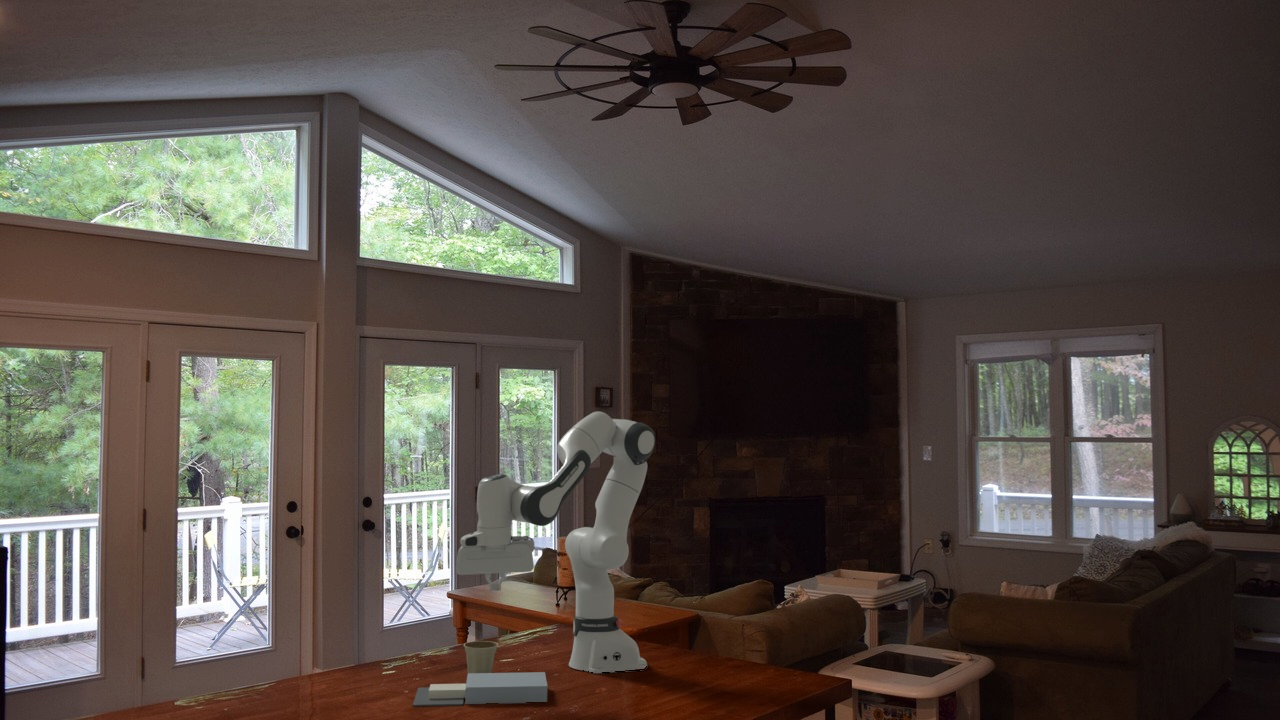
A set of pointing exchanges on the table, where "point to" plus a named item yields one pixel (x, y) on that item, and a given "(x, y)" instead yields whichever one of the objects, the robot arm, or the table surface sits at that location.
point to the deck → (506, 688)
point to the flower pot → (480, 656)
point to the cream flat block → (447, 691)
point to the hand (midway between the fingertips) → (495, 590)
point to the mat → (424, 700)
